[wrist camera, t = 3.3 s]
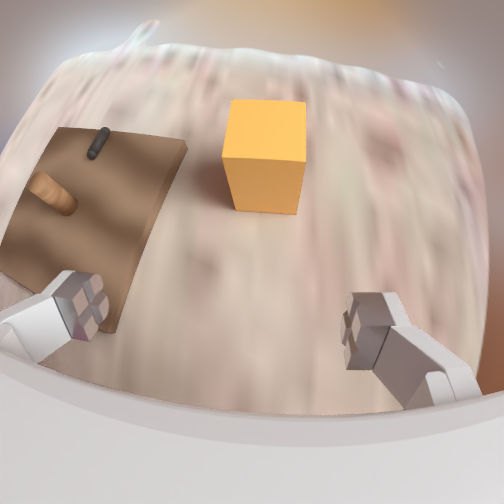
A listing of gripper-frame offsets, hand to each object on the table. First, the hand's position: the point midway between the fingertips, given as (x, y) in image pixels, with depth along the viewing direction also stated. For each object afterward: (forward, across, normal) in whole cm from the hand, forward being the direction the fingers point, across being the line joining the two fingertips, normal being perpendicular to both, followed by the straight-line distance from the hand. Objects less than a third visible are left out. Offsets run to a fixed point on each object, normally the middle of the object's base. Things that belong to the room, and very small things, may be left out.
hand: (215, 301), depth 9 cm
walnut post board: (+16, +18, +4) cm, 24 cm away
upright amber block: (+18, -1, +2) cm, 18 cm away
